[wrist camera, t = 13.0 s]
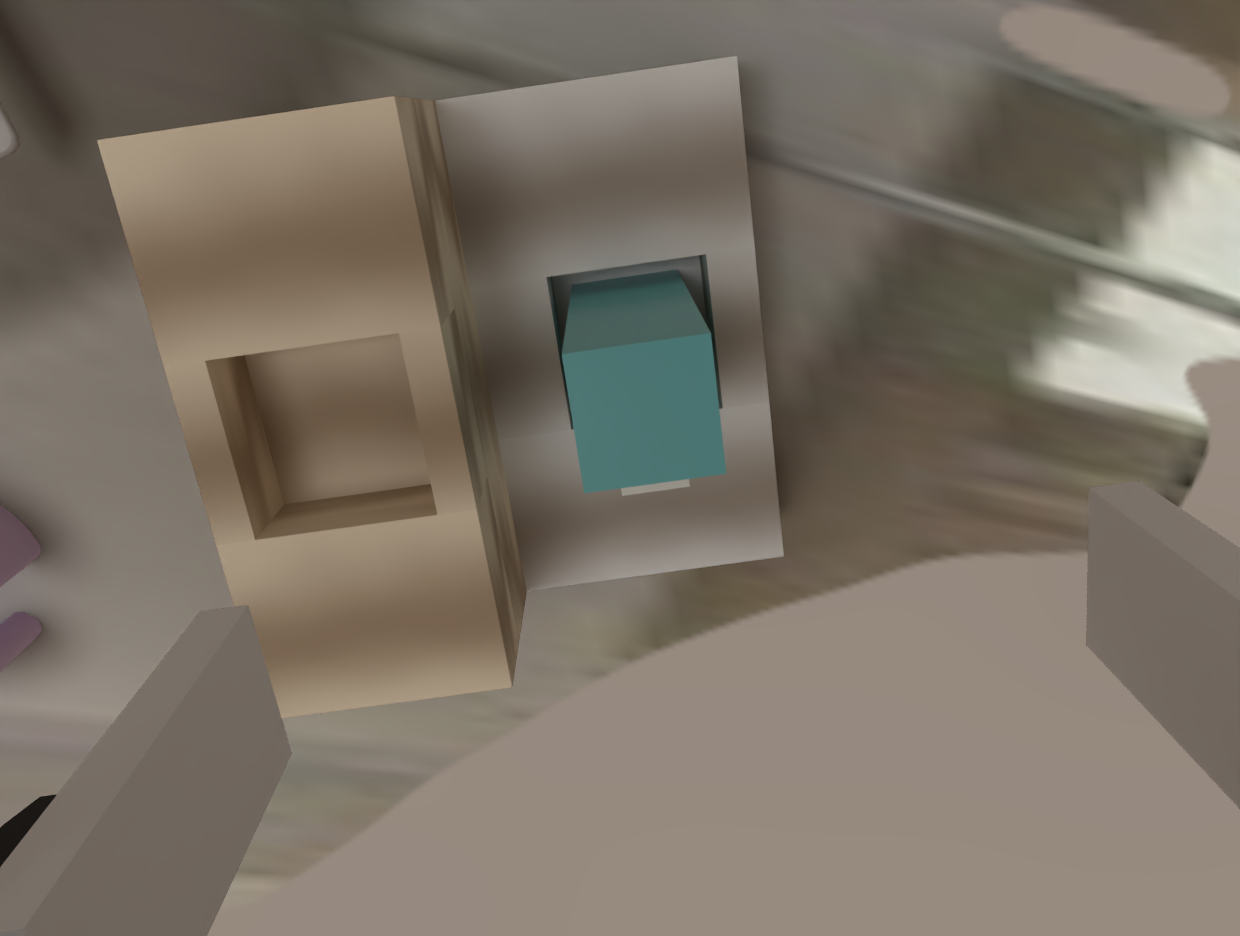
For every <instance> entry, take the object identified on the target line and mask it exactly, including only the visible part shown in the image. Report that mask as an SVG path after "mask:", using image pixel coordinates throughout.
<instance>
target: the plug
mask: <svg viewBox="0 0 1240 936" xmlns="http://www.w3.org/2000/svg"><path fill="white" fill-rule="evenodd" d="M562 359H563V365H564V372H565V378H566V384H567V390H568V396H569V403H570V409H571V415H572V421H573V427H574V434H575V440H576V446H577V452H578V458H579V465H580V471H581V477H582V483H583V489H584V493H591V492H598V491H605V490H612V489H620V488H621V493H622V496H625V495H633V494H640V493H647V492H654V491H662V490H669V489H676V488H683V487H690V485H689V479H692V478H699V477H707V476H714V475H721V474H726V465H725V456H724V447H723V438H722V429H721V420H720V411H719V402H718V393H717V384H716V375H715V366H714V357H713V348H712V339H711V332H710V330H709V329H708V327H707V325H706V323H705V321H704V319H703V317H702V315H701V314H700V312H699V310H698V308H697V306H696V304H695V302H694V300H693V299H692V297H691V295H690V293H689V291H688V289H687V287H686V285H685V284H684V282H683V280H682V278H681V276H680V274H679V272H678V270H677V269H676V270H669V271H662V272H655V273H648V274H641V275H634V276H627V277H620V278H613V279H607V280H600V281H593V282H586V283H579V284H572V289H571V295H570V302H569V309H568V315H567V322H566V329H565V335H564V342H563V349H562Z"/></svg>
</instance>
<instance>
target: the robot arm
mask: <svg viewBox="0 0 1240 936" xmlns="http://www.w3.org/2000/svg"><path fill="white" fill-rule="evenodd" d="M1086 645H1087V646H1088V647H1089V648H1090V649H1091V651H1092V652H1093V653H1094V654H1095V655H1096V656H1097V657H1098V658H1099V659H1100V660H1101V661H1102V662H1103V663H1104V664H1105V665H1106V667H1107V668H1108V669H1110V671H1111V672H1112V673H1113V674H1114V675H1115V676H1116V677H1117V678H1118V679H1119V680H1120V681H1121V683H1122V684H1123V685H1124V686H1125V687H1126V688H1127V689H1128V690H1129V691H1130V692H1131V693H1132V694H1133V695H1134V696H1135V698H1136V699H1137V700H1138V701H1139V702H1140V703H1141V704H1142V705H1143V706H1144V707H1145V708H1146V709H1147V710H1148V711H1149V712H1150V713H1151V715H1152V716H1153V717H1154V718H1155V719H1156V720H1157V721H1158V722H1159V723H1160V724H1161V725H1162V726H1163V727H1164V728H1165V730H1166V731H1167V732H1168V733H1169V734H1170V735H1171V736H1172V737H1173V738H1174V739H1175V740H1176V741H1177V742H1178V743H1179V745H1180V746H1181V747H1182V748H1183V749H1184V750H1185V751H1186V752H1187V753H1188V754H1189V755H1190V756H1191V757H1192V758H1193V759H1194V761H1196V763H1197V764H1198V765H1200V767H1201V768H1202V769H1203V770H1204V771H1205V772H1206V773H1207V774H1208V775H1209V777H1210V778H1211V779H1212V780H1213V781H1214V782H1215V783H1216V784H1217V785H1218V786H1219V787H1220V788H1221V789H1222V790H1223V791H1224V793H1225V794H1226V795H1227V796H1228V797H1229V798H1230V799H1231V800H1232V801H1233V802H1234V803H1235V804H1236V805H1237V806H1238V808H1239V809H1240V548H1239V547H1237V546H1236V545H1234V544H1233V543H1231V542H1230V541H1228V540H1227V539H1225V538H1224V537H1222V536H1221V535H1219V534H1218V533H1216V532H1215V531H1213V530H1212V529H1210V528H1209V527H1207V526H1206V525H1204V524H1203V523H1201V522H1200V521H1198V520H1197V519H1195V518H1194V517H1192V516H1191V515H1189V514H1188V513H1186V512H1185V511H1183V510H1182V509H1180V508H1179V507H1177V506H1176V505H1174V504H1173V503H1171V502H1170V501H1168V500H1167V499H1165V498H1164V497H1162V496H1161V495H1159V494H1158V493H1156V492H1155V491H1153V490H1152V489H1150V488H1149V487H1147V486H1146V485H1144V484H1143V483H1141V482H1140V481H1134V482H1127V483H1120V484H1113V485H1105V486H1098V487H1091V488H1089V519H1088V577H1087V632H1086ZM291 754H292V752H291V749H290V745H289V742H288V738H287V735H286V731H285V728H284V725H283V721H282V718H281V714H280V711H279V708H278V704H277V701H276V697H275V694H274V690H273V687H272V684H271V680H270V677H269V673H268V670H267V666H266V663H265V660H264V656H263V653H262V649H261V646H260V642H259V639H258V636H257V632H256V629H255V625H254V622H253V619H252V615H251V612H250V608H249V605H243V606H236V607H229V608H222V609H215V610H207V611H200V612H199V614H198V615H197V616H196V618H195V619H194V620H193V621H192V623H191V624H190V625H189V627H188V628H187V629H186V630H185V632H184V633H183V634H182V635H181V637H180V638H179V639H178V641H177V642H176V643H175V644H174V646H173V647H172V648H171V650H170V651H169V652H168V653H167V655H166V656H165V657H164V658H163V660H162V661H161V662H160V664H159V665H158V666H157V667H156V669H155V670H154V671H153V673H152V674H151V675H150V676H149V678H148V679H147V680H146V682H145V683H144V684H143V685H142V687H141V688H140V689H139V690H138V692H137V693H136V694H135V696H134V697H133V698H132V699H131V701H130V702H129V703H128V705H127V706H126V707H125V708H124V710H123V711H122V712H121V713H120V715H119V716H118V717H117V719H116V720H115V721H114V722H113V724H112V725H111V726H110V728H109V729H108V730H107V731H106V733H105V734H104V735H103V737H102V738H101V739H100V740H99V742H98V743H97V744H96V745H95V747H94V748H93V749H92V751H91V752H90V753H89V754H88V756H87V757H86V758H85V760H84V761H83V762H82V763H81V765H80V766H79V767H78V768H77V770H76V771H75V772H74V774H73V775H72V776H71V777H70V779H69V780H68V781H67V783H66V784H65V785H64V786H63V788H62V789H61V790H60V792H59V793H58V794H57V795H50V796H43V797H39V798H38V799H37V800H35V801H34V802H33V803H31V804H30V805H29V806H27V807H26V808H25V809H23V810H22V811H21V812H20V813H18V814H17V815H16V816H14V817H13V818H12V819H10V820H9V821H8V822H6V823H5V824H4V825H3V826H2V827H1V828H0V936H207V935H208V932H209V930H210V928H211V926H212V924H213V922H214V920H215V917H216V915H217V913H218V911H219V909H220V907H221V904H222V902H223V900H224V898H225V896H226V894H227V892H228V889H229V887H230V885H231V883H232V881H233V879H234V877H235V874H236V872H237V870H238V868H239V866H240V864H241V861H242V859H243V857H244V855H245V853H246V851H247V849H248V846H249V844H250V842H251V840H252V838H253V836H254V834H255V831H256V829H257V827H258V825H259V823H260V821H261V818H262V816H263V814H264V812H265V810H266V808H267V806H268V803H269V801H270V799H271V797H272V795H273V793H274V791H275V788H276V786H277V784H278V782H279V780H280V778H281V775H282V773H283V771H284V769H285V767H286V765H287V763H288V760H289V758H290V756H291Z"/></svg>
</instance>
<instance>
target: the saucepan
mask: <svg viewBox="0 0 1240 936" xmlns="http://www.w3.org/2000/svg"><path fill="white" fill-rule="evenodd" d="M19 146H20V142H19V136H18V134H17V132H16V130H15V128H14V127H13V125H12V123H11V121H10V119H9V118H8V116H7V114H6V112H5V111H4V109H3V107H2V105H1V103H0V158H4V157H6V156H8V155H10V154H12V153H14V152H15V151H16V150H17V148H18V147H19Z"/></svg>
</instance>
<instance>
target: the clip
mask: <svg viewBox="0 0 1240 936" xmlns="http://www.w3.org/2000/svg"><path fill="white" fill-rule="evenodd" d="M40 553H41V547H40V544H39V543H38V541H37V540H36V538H35V537H34V536H33V534H32V533H31V532H30V531H29V529H28V528H27V527H26V526H25V525H24V524H23V523H22V522H21V521H20V520H19V519H18V518H17V517H15V516H14V515H13V514H12V513H11V512H9V511H8V510H6V509H5V508H4V507H2V506H1V505H0V587H1V586H2V585H3V584H4V583H6V582H7V581H8V580H10V579H11V578H12V577H13V576H15V575H16V574H17V573H18V572H20V571H21V570H22V569H24V568H25V567H26V566H27V565H29V564H30V563H31V562H32V561H34V560H35V559H36V558H38V557H39V555H40ZM41 630H42V627H41V624H40V622H39V621H38V620H37V619H36V618H34V617H33V616H31V615H28V614H26V613H23V612H17V613H14V614H12V615H11V616H10V617H9V618H8V619H7V620H5V621H4V622H3V623H2V624H1V625H0V672H1V671H2V670H3V669H4V668H5V667H6V666H7V665H8V664H9V663H10V662H12V661H13V660H14V659H15V658H16V657H17V656H18V655H19V654H20V653H21V652H22V651H23V650H24V649H26V648H27V647H28V646H29V645H30V644H31V643H32V642H33V641H34V640H35V639H36V638H37V637H38V636H39V635H40V633H41Z"/></svg>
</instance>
